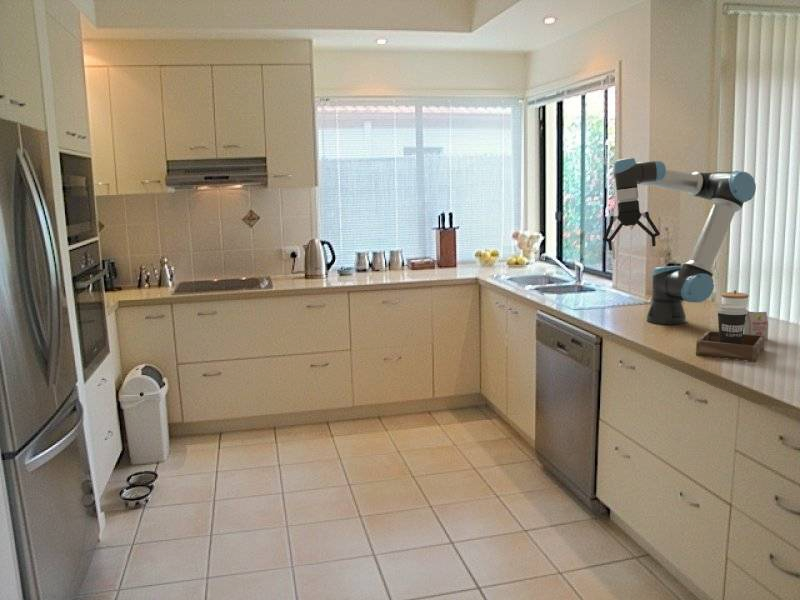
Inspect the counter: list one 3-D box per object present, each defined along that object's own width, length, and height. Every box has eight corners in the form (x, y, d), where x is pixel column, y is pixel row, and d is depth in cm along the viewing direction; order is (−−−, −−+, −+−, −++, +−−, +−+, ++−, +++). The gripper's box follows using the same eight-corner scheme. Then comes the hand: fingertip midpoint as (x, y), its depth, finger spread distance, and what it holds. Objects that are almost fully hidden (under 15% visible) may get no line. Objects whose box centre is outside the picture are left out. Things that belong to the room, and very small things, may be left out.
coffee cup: (710, 350, 234) (712, 306, 231) (720, 345, 240) (722, 302, 238) (740, 354, 227) (742, 309, 225) (749, 349, 234) (752, 305, 231)
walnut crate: (707, 344, 246) (708, 330, 245) (763, 350, 236) (764, 335, 235) (695, 355, 232) (696, 340, 231) (755, 361, 221) (756, 346, 221)
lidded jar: (721, 313, 301) (722, 291, 300) (719, 308, 311) (720, 288, 310) (748, 314, 297) (750, 292, 296) (746, 309, 307) (747, 288, 306)
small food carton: (743, 338, 254) (745, 311, 253) (762, 337, 254) (763, 310, 253) (748, 340, 251) (750, 313, 249) (767, 339, 251) (768, 312, 249)
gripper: (663, 196, 256) (668, 252, 259) (594, 204, 265) (599, 259, 268) (663, 196, 249) (668, 254, 252) (592, 205, 258) (597, 261, 261)
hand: (633, 257), depth 260 cm, fingers open, 13 cm apart
